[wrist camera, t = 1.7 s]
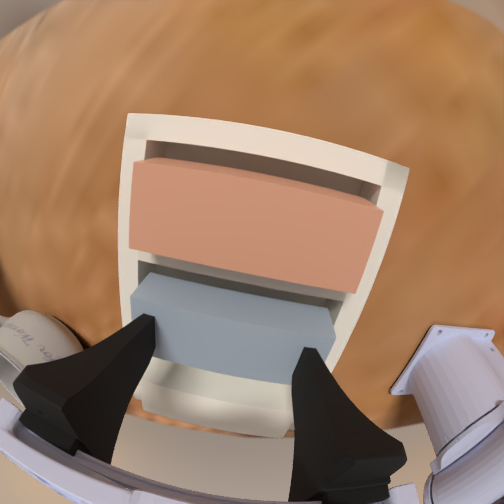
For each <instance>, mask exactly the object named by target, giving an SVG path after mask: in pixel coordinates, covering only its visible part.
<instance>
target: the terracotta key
mask: <svg viewBox="0 0 504 504" xmlns="http://www.w3.org/2000/svg"><path fill="white" fill-rule="evenodd" d="M383 213H384V211H383V210H382V209H380V208H379V207H377V206H376V205H374V204H373V203H371V202H370V201H368V200H366V199H365V198H363V197H359V196H355V195H352V194H348V193H344V192H341V191H337V190H333V189H329V188H325V187H321V186H317V185H313V184H308V183H304V182H300V181H295V180H291V179H286V178H282V177H277V176H272V175H267V174H262V173H257V172H252V171H246V170H241V169H235V168H230V167H224V166H218V165H211V164H205V163H198V162H191V161H184V160H176V159H168V158H160V157H157V158H151V159H146V160H140V161H135V162H134V163H133V173H132V185H131V199H130V218H129V248H130V249H134V250H139V251H143V252H147V253H152V254H156V255H161V256H166V257H170V258H175V259H179V260H184V261H189V262H193V263H198V264H203V265H208V266H212V267H217V268H222V269H227V270H232V271H237V272H242V273H247V274H252V275H257V276H262V277H267V278H272V279H277V280H283V281H288V282H293V283H298V284H304V285H309V286H314V287H320V288H325V289H331V290H336V291H342V292H348V293H353V294H356V291H357V289H358V286H359V283H360V281H361V278H362V275H363V273H364V270H365V267H366V265H367V262H368V259H369V256H370V253H371V250H372V247H373V244H374V241H375V238H376V235H377V232H378V229H379V226H380V223H381V219H382V216H383Z"/></svg>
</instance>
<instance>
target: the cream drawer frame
mask: <svg viewBox="0 0 504 504" xmlns="http://www.w3.org/2000/svg"><path fill="white" fill-rule="evenodd" d="M157 157H160V158H168V159H176V160H184V161H191V162H198V163H205V164H211V165H218V166H224V167H230V168H235V169H241V170H246V171H252V172H257V173H262V174H267V175H272V176H277V177H282V178H286V179H291V180H295V181H300V182H304V183H308V184H313V185H317V186H321V187H325V188H329V189H333V190H337V191H341V192H344V193H348V194H352V195H355V196H359V197H363V198H365V199H366V200H368V201H370V202H371V203H373V204H374V205H376V206H377V207H379V208H380V209H382V210H383V211H384V213H383V216H382V219H381V223H380V226H379V229H378V232H377V235H376V238H375V241H374V244H373V247H372V250H371V253H370V256H369V259H368V262H367V265H366V267H365V270H364V273H363V275H362V278H361V281H360V283H359V286H358V289H357V291H356V294H353V293H348V292H342V291H336V290H331V289H325V288H320V287H314V286H309V285H304V284H298V283H293V282H288V281H283V280H277V279H272V278H267V277H262V276H257V275H252V274H247V273H242V272H237V271H232V270H227V269H222V268H217V267H212V266H208V265H203V264H198V263H193V262H189V261H184V260H179V259H175V258H170V257H166V256H161V255H156V254H152V253H147V252H143V251H139V250H134V249H130V248H129V218H130V199H131V185H132V173H133V163H134V162H135V161H140V160H146V159H151V158H157ZM409 170H410V168H407V167H404V166H402V165H399V164H396V163H394V162H391V161H388V160H385V159H382V158H379V157H376V156H373V155H370V154H367V153H364V152H361V151H358V150H354V149H351V148H348V147H344V146H341V145H337V144H334V143H330V142H326V141H323V140H319V139H315V138H311V137H307V136H302V135H298V134H294V133H289V132H285V131H280V130H275V129H270V128H265V127H259V126H254V125H248V124H242V123H235V122H229V121H221V120H214V119H205V118H196V117H186V116H174V115H160V114H137V113H128V117H127V123H126V130H125V138H124V146H123V154H122V164H121V176H120V190H119V210H118V267H119V288H120V302H121V313H122V323H123V327H124V326H126V325H127V324H129V323H130V322H132V318H131V303H130V295H131V294H132V293H133V292H134V291H135V289H136V288H137V287H138V286H139V285H140V284H141V282H142V281H143V280H144V279H145V278H146V276H147V275H148V274H149V273H150V272H151V273H156V274H160V275H164V276H168V277H173V278H177V279H181V280H186V281H190V282H195V283H199V284H204V285H209V286H213V287H218V288H223V289H228V290H233V291H238V292H242V293H248V294H253V295H258V296H263V297H268V298H274V299H279V300H284V301H290V302H296V303H301V304H307V305H313V306H319V307H325V308H328V310H329V313H330V317H331V320H332V324H333V327H334V331H335V334H336V340H335V342H334V344H333V346H332V348H331V351H330V353H329V355H328V357H327V359H326V361H325V364H326V366H327V368H328V369H329V371H330V373H332V371H333V369H334V367H335V365H336V363H337V362H338V360H339V358H340V356H341V354H342V352H343V350H344V348H345V346H346V344H347V342H348V340H349V338H350V335H351V333H352V331H353V329H354V327H355V325H356V323H357V320H358V318H359V316H360V314H361V312H362V309H363V307H364V305H365V302H366V300H367V298H368V295H369V293H370V290H371V288H372V285H373V283H374V280H375V278H376V275H377V273H378V270H379V267H380V265H381V262H382V259H383V257H384V254H385V251H386V248H387V245H388V242H389V239H390V236H391V233H392V230H393V227H394V224H395V221H396V218H397V214H398V211H399V207H400V204H401V201H402V197H403V193H404V190H405V186H406V182H407V178H408V174H409ZM134 398H136V399H139V400H142V399H141V393H140V387H139V384H138V386H137V388H136V390H135V392H134ZM288 430H292V431H294V421H293V422H292V424H291V426H290V427H289V429H288Z"/></svg>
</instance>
